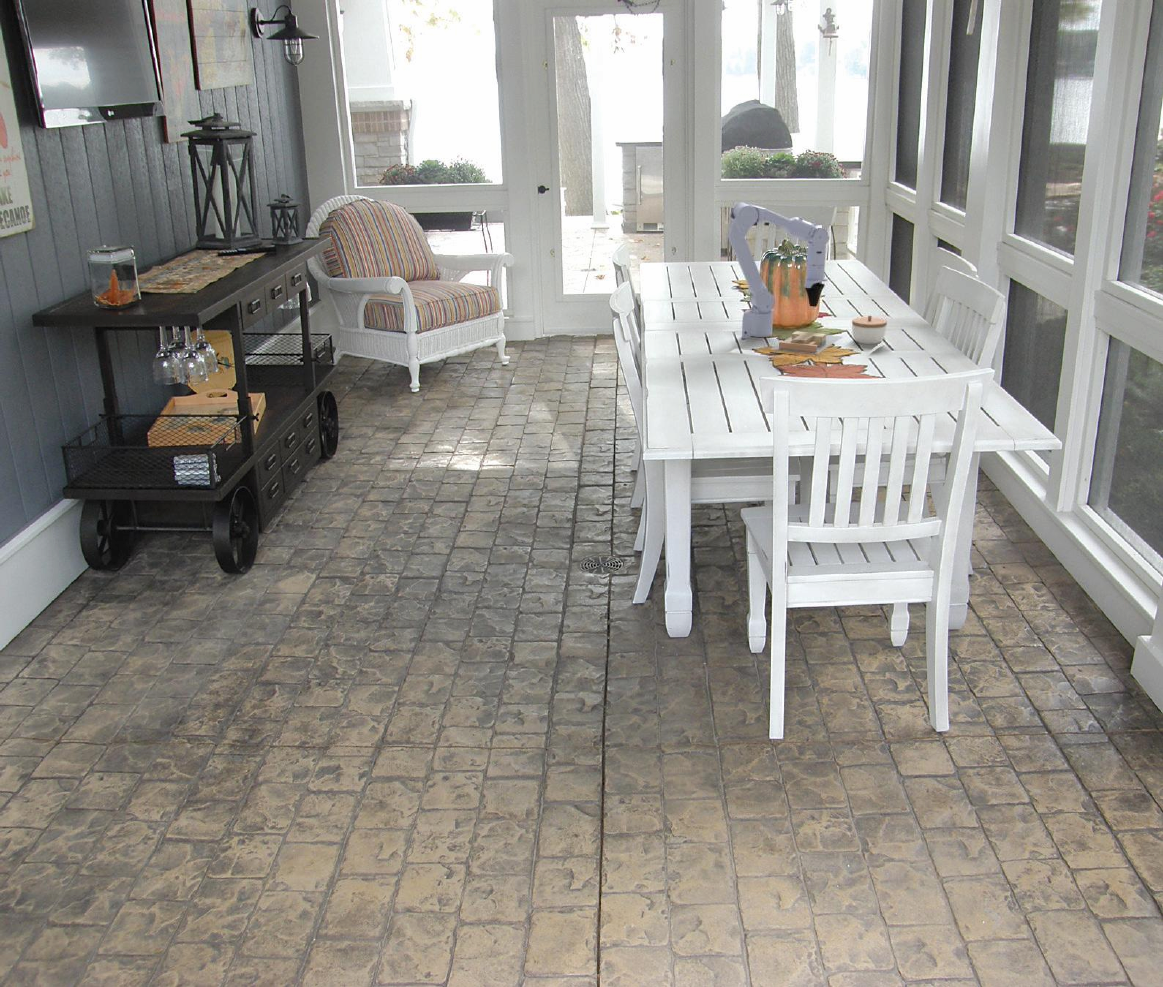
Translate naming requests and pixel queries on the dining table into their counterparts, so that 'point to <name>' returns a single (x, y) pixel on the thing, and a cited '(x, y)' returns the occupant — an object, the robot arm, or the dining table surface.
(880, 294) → the dining table surface
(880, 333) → the lidded jar
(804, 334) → the t block
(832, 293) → the dining table surface
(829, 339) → the board
